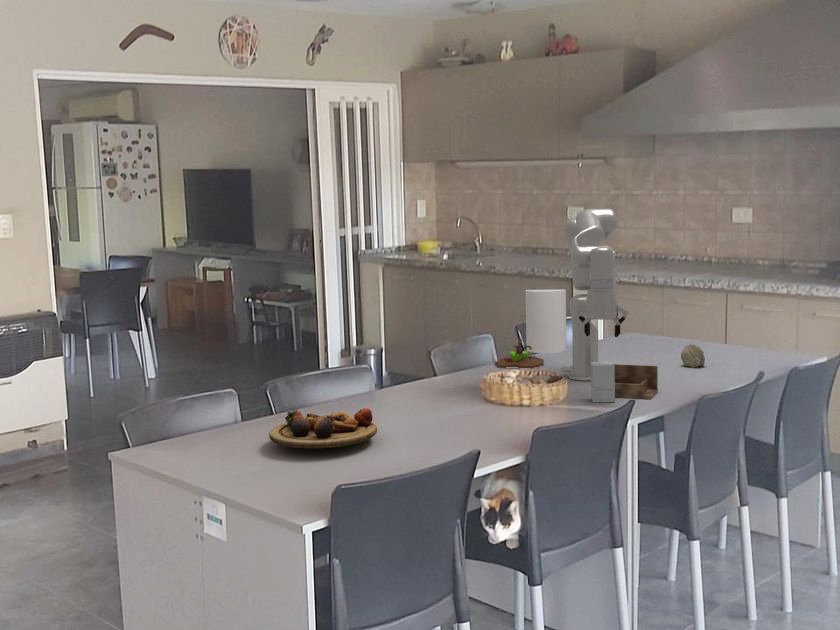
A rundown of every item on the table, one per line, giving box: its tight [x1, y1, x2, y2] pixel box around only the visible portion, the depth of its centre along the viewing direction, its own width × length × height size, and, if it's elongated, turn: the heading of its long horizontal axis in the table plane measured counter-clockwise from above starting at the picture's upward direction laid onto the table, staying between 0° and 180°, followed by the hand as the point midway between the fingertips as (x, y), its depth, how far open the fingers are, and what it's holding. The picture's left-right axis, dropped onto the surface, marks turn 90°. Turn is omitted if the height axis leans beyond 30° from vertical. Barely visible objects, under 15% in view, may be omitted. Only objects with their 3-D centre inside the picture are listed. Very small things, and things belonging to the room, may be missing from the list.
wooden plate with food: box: [268, 407, 378, 449], centre depth 292 cm, size 32×32×8 cm
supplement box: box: [590, 361, 616, 403], centre depth 328 cm, size 7×7×13 cm
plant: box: [494, 338, 545, 369], centre depth 399 cm, size 20×20×11 cm
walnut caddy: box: [613, 363, 659, 400], centre depth 337 cm, size 18×13×9 cm
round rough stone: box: [680, 343, 706, 369], centre depth 380 cm, size 9×8×10 cm
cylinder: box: [525, 289, 567, 354], centre depth 426 cm, size 17×17×28 cm
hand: (602, 336), depth 326 cm, fingers open, 9 cm apart
